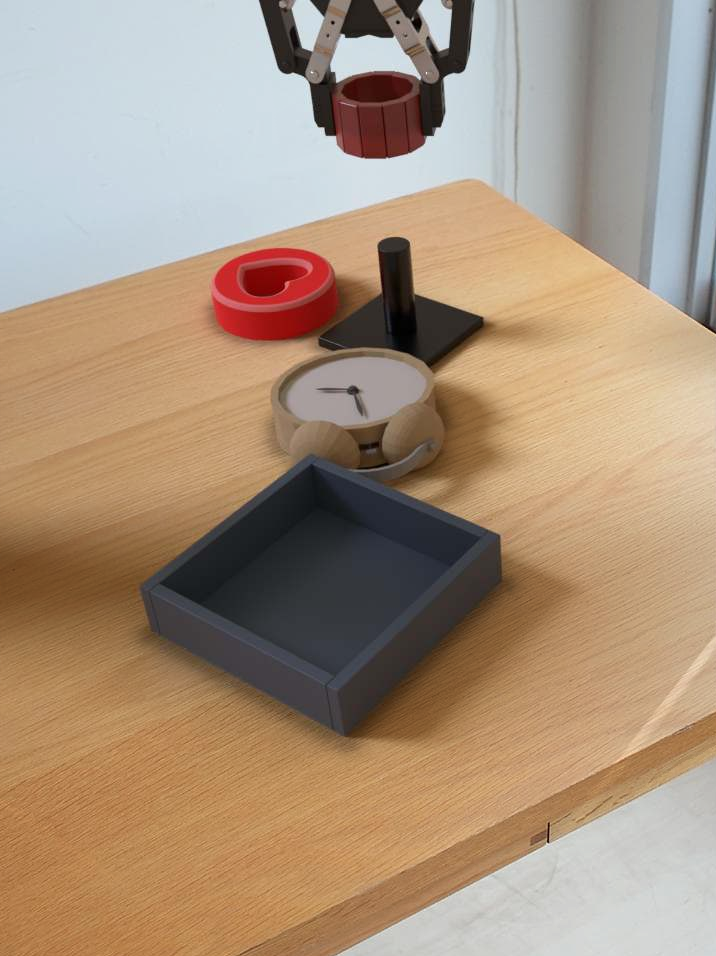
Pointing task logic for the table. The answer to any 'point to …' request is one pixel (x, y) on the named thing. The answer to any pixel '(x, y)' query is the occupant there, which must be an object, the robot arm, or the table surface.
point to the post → (402, 315)
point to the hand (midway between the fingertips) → (381, 130)
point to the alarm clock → (359, 411)
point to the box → (324, 590)
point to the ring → (378, 114)
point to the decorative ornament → (268, 272)
